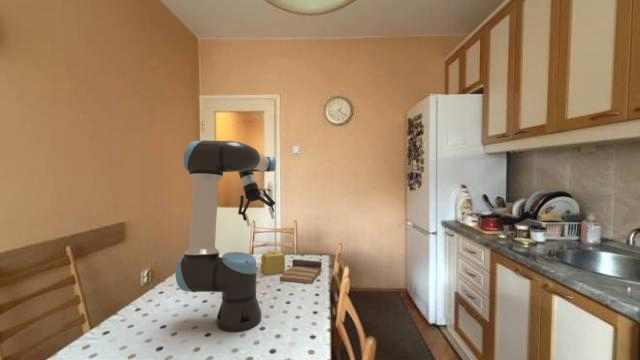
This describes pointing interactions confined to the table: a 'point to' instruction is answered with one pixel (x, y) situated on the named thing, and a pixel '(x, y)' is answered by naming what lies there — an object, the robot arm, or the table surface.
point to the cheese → (273, 262)
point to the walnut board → (302, 271)
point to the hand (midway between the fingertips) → (261, 222)
